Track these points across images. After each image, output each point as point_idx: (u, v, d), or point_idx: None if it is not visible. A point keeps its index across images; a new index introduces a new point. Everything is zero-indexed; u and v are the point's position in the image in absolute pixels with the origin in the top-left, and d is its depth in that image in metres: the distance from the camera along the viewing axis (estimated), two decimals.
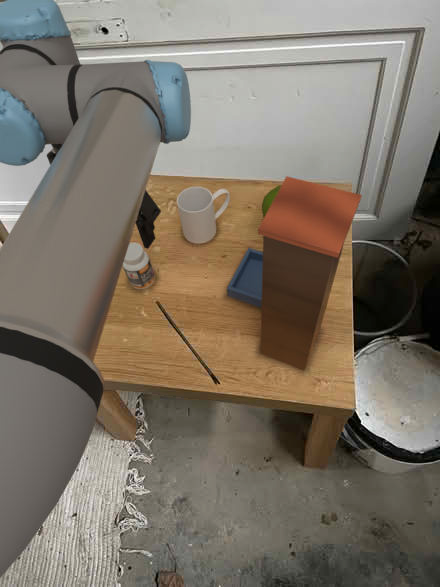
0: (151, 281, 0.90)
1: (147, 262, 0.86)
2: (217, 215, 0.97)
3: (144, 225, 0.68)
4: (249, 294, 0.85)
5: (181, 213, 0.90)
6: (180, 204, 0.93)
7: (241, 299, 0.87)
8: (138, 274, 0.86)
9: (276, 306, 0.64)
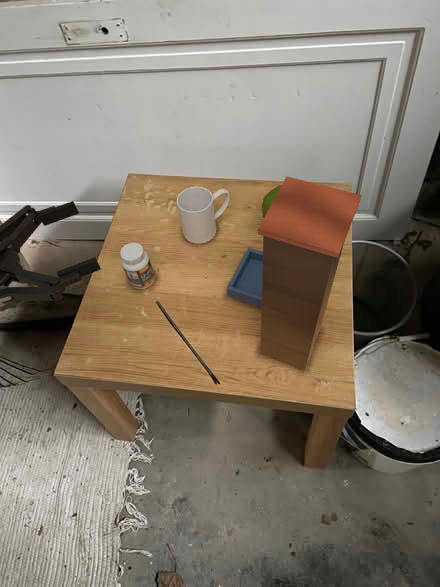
0: (151, 281, 0.90)
1: (147, 262, 0.86)
2: (217, 215, 0.97)
3: None
4: (249, 294, 0.85)
5: (181, 213, 0.90)
6: (180, 204, 0.93)
7: (241, 299, 0.87)
8: (138, 274, 0.86)
9: (276, 306, 0.64)
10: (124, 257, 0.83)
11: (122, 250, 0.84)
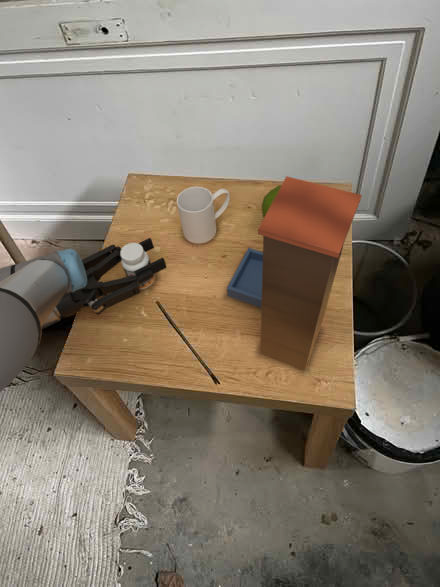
0: (151, 281, 0.90)
1: (147, 262, 0.86)
2: (217, 215, 0.97)
3: None
4: (249, 294, 0.85)
5: (181, 213, 0.90)
6: (180, 204, 0.93)
7: (241, 299, 0.87)
8: None
9: (276, 306, 0.64)
10: (124, 257, 0.83)
11: (122, 250, 0.84)
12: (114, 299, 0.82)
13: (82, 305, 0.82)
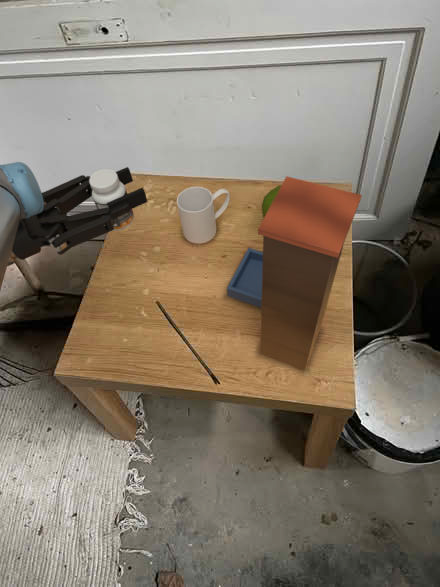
0: (129, 221, 0.74)
1: (123, 194, 0.70)
2: (217, 215, 0.97)
3: None
4: (249, 294, 0.85)
5: (181, 213, 0.90)
6: (180, 204, 0.93)
7: (241, 299, 0.87)
8: None
9: (276, 306, 0.64)
10: (94, 185, 0.67)
11: (92, 177, 0.68)
12: (81, 235, 0.66)
13: (41, 243, 0.67)
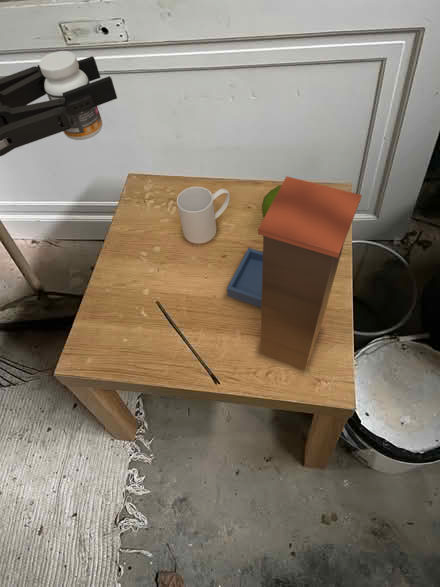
0: (95, 127, 0.58)
1: (85, 84, 0.54)
2: (217, 215, 0.97)
3: None
4: (249, 294, 0.85)
5: (181, 213, 0.90)
6: (180, 204, 0.93)
7: (241, 299, 0.87)
8: None
9: (276, 306, 0.64)
10: (44, 67, 0.51)
11: (43, 59, 0.53)
12: (26, 131, 0.50)
13: None
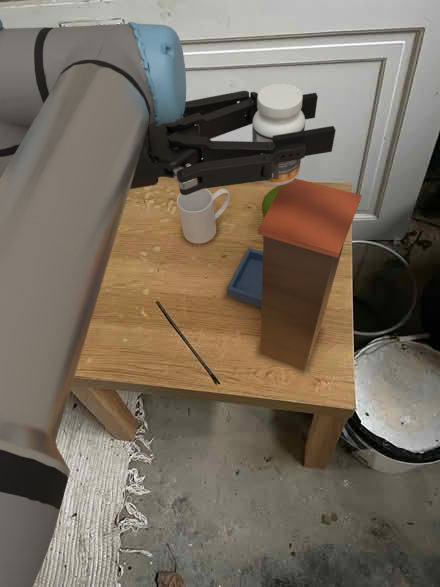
0: (291, 175, 0.49)
1: (301, 128, 0.44)
2: (217, 215, 0.97)
3: None
4: (249, 294, 0.85)
5: (181, 213, 0.90)
6: (180, 204, 0.93)
7: (241, 299, 0.87)
8: None
9: (276, 306, 0.64)
10: (263, 102, 0.43)
11: (263, 91, 0.44)
12: (221, 174, 0.42)
13: (162, 171, 0.44)
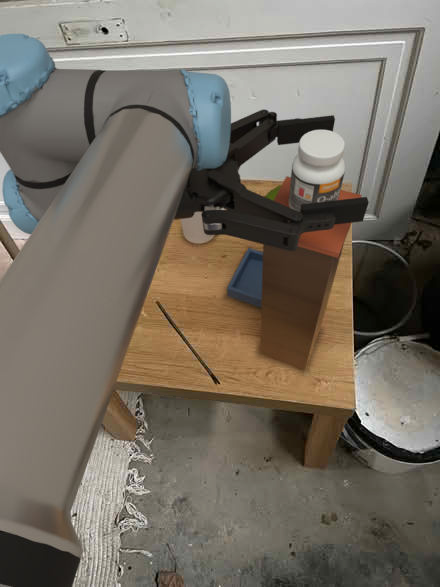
0: None
1: (340, 175, 0.44)
2: None
3: None
4: (249, 294, 0.85)
5: None
6: None
7: (241, 299, 0.87)
8: (314, 193, 0.45)
9: (276, 306, 0.64)
10: (305, 149, 0.43)
11: (305, 137, 0.44)
12: (244, 229, 0.41)
13: (199, 206, 0.44)
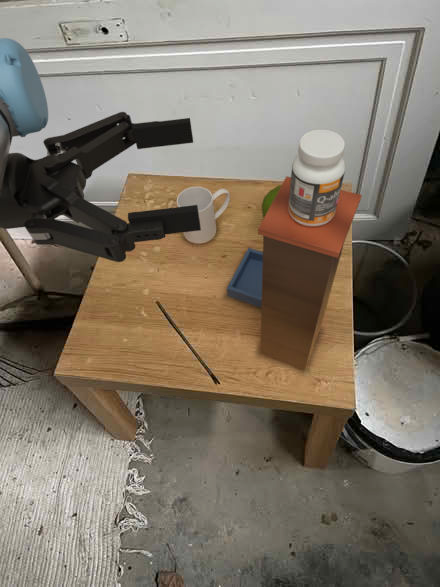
0: (327, 217, 0.49)
1: (340, 175, 0.44)
2: (217, 215, 0.97)
3: None
4: (249, 294, 0.85)
5: None
6: (180, 204, 0.93)
7: (241, 299, 0.87)
8: (314, 193, 0.45)
9: (276, 306, 0.64)
10: (305, 149, 0.43)
11: (305, 137, 0.44)
12: (68, 238, 0.39)
13: (32, 215, 0.42)
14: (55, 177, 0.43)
